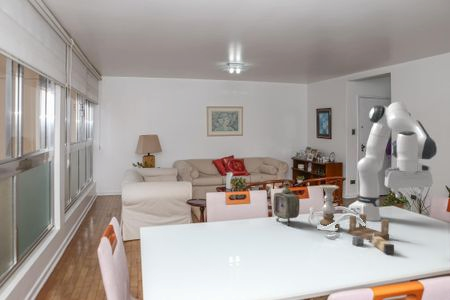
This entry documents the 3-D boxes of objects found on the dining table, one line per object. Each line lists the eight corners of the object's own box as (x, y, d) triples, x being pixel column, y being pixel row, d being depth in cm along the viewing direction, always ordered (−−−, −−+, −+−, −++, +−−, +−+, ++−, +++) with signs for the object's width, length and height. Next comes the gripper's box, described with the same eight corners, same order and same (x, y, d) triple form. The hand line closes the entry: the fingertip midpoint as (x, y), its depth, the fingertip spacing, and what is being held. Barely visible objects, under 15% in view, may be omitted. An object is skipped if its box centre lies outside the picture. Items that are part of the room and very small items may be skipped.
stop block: (352, 244, 157) (352, 237, 157) (359, 242, 159) (359, 235, 159) (356, 246, 155) (357, 238, 154) (363, 244, 157) (363, 237, 157)
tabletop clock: (273, 220, 199) (273, 179, 197) (285, 219, 202) (286, 178, 201) (287, 226, 186) (288, 183, 184) (300, 225, 189) (301, 182, 188)
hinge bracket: (367, 242, 161) (368, 232, 160) (372, 241, 162) (372, 231, 162) (374, 244, 157) (375, 234, 157) (378, 243, 159) (379, 233, 159)
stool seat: (348, 233, 174) (348, 216, 174) (361, 230, 180) (362, 213, 179) (375, 242, 161) (376, 223, 160) (389, 238, 166) (389, 220, 166)
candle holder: (316, 229, 181) (317, 186, 180) (320, 224, 191) (321, 183, 190) (336, 232, 176) (337, 188, 175) (339, 227, 186) (341, 185, 185)
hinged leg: (369, 242, 159) (369, 234, 159) (377, 242, 159) (377, 234, 159) (385, 253, 144) (385, 245, 144) (393, 253, 144) (394, 245, 144)
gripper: (388, 168, 146) (388, 198, 146) (434, 166, 146) (435, 197, 146) (381, 167, 153) (382, 196, 153) (425, 166, 152) (426, 195, 153)
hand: (408, 197), depth 149 cm, fingers open, 8 cm apart
